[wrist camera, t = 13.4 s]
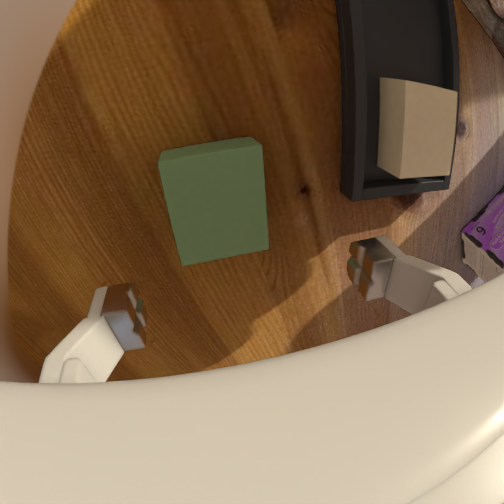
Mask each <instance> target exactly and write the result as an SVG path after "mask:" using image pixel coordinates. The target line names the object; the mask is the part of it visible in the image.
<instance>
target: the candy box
mask: <svg viewBox="0 0 504 504" xmlns="http://www.w3.org/2000/svg"><path fill="white" fill-rule="evenodd" d="M462 261H463V262H464V263H465V264H466V265H467V266H469V267H470V268H471V269H472V270H473V271H474V272H475V273H476V274H477V275H478V276H479V277H480V278H481V279H482V280H483V281H484V282H487V281H489V280H491V279H493V278H495V277H497V276H499V275H501V274H503V273H504V188H503V189H502V190H501V191H500V192H499V193H498V194H497V196H496V197H495V198H494V199H493V200H492V201H491V202H490V203H489V204H488V205H487V206H486V207H485V208H484V209H483V210H482V211H481V212H480V213H479V214H478V215H477V216H476V217H475V218H474V219H473V220H472V221H471V222H470V223H469V224H468V225H467V226H466V227H465V228H464V229H463V230H462Z"/></svg>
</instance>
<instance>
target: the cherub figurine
mask: <svg viewBox="0 0 504 504" xmlns="http://www.w3.org/2000/svg"><path fill="white" fill-rule="evenodd" d="M462 2H464V3H465V4H466V6H467V8H468V9H469V11H470V12H471V13H472V14H473V15H474V17H475V18H476V19H477V20H478V22H479V23H480V24H481V26H482V27H483V28H484V30H485V31H486V32H487V34H488V35H489V36H490V38H491V39H492V41H493V42H494V44H495V45H496V47H497V48H498V50H499V51H500V53H501V54H502V56H503V57H504V0H462ZM464 3H463V4H464ZM465 4H464V5H465Z"/></svg>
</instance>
